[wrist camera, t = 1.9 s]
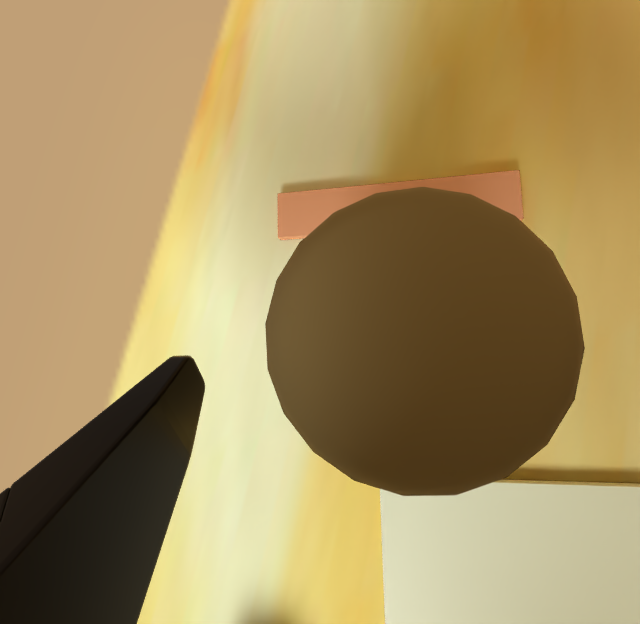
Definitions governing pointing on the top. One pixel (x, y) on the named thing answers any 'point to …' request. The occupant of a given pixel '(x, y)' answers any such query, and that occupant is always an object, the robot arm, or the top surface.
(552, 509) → the pad
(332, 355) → the cork
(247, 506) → the top surface
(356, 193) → the off strip
